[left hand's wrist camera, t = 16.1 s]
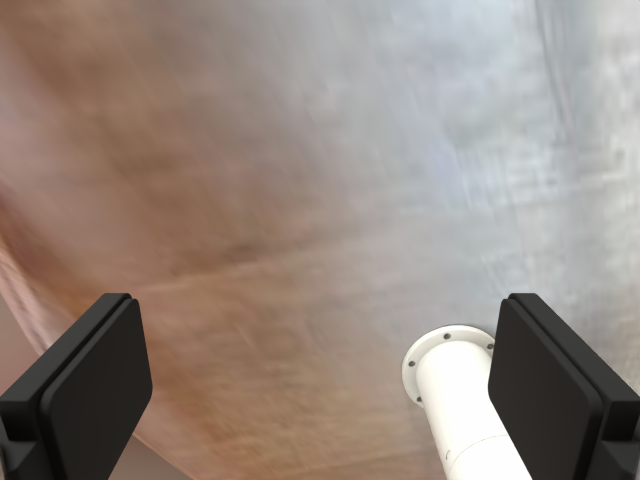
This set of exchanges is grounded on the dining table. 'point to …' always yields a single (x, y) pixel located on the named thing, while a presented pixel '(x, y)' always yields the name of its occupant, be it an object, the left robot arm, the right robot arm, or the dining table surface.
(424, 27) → the dining table surface
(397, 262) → the dining table surface
